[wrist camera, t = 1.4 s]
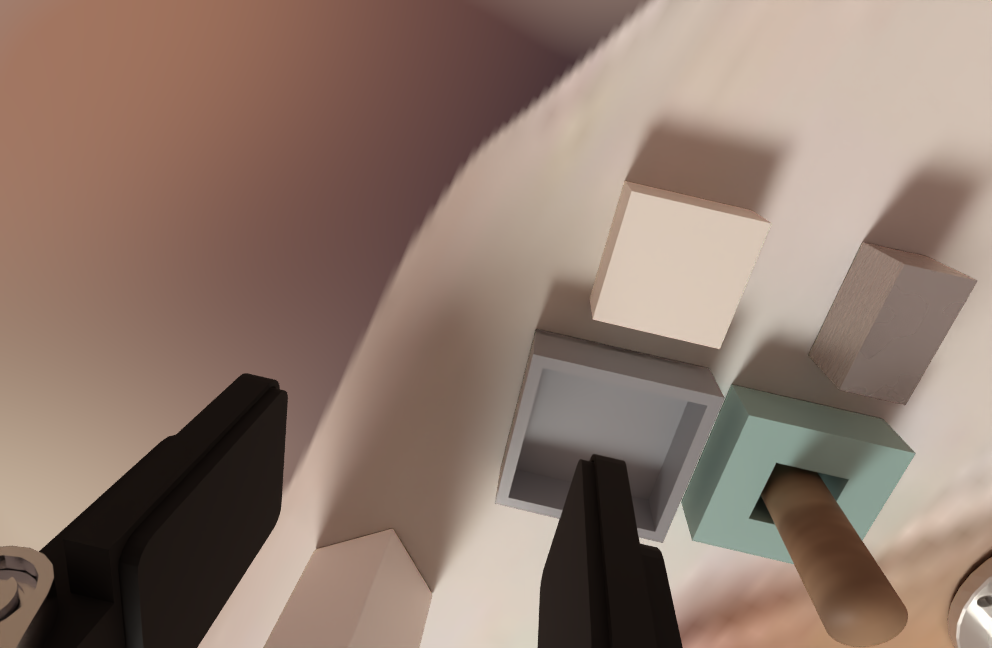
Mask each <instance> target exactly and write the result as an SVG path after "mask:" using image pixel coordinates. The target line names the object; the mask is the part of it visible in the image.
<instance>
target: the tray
mask: <svg viewBox="0 0 992 648" xmlns="http://www.w3.org/2000/svg"><path fill="white" fill-rule="evenodd" d="M723 400H724V396H723V394H722V392H721V390H720V388H719V386H718V384H717V382H716V380H715V378H714V377H713V375H712V373H711V371H710V369H709V368H705V367H701V366H696V365H692V364H688V363H683V362H679V361H674V360H670V359H666V358H661V357H657V356H652V355H648V354H644V353H639V352H635V351H631V350H626V349H622V348H617V347H613V346H609V345H604V344H600V343H595V342H591V341H587V340H582V339H578V338H574V337H569V336H565V335H560V334H556V333H552V332H547V331H543V330H539V329H536V330H535V334H534V338H533V342H532V346H531V350H530V354H529V358H528V362H527V366H526V370H525V374H524V378H523V382H522V386H521V390H520V393H519V397H518V401H517V405H516V409H515V413H514V417H513V421H512V425H511V429H510V433H509V437H508V441H507V445H506V449H505V453H504V457H503V461H502V465H501V469H500V475H499V481H498V487H497V494H496V500H495V504H498V505H503V506H507V507H511V508H516V509H520V510H524V511H528V512H533V513H537V514H541V515H546V516H550V517H554V518H558V519H560V517H561V513H562V510H563V507H564V504H565V501H566V498H567V495H568V492H569V488H570V485H571V482H572V479H573V476H574V473H575V470H576V467H577V464H578V462H579V460H580V459H582V460H587V461H589V460H590V458H591V456H592V455H593V454H598V455H602V456H606V457H611V458H615V459H619V460H624V461H625V463H626V466H627V472H628V478H629V484H630V489H631V495H632V501H633V507H634V513H635V519H636V525H637V531H638V537H640V538H644V539H648V540H653V541H657V542H661V543H663V541H664V539H665V537H666V534H667V532H668V530H669V527H670V525H671V522H672V520H673V518H674V515H675V513H676V511H677V508H678V506H679V504H680V501H681V499H682V497H683V494H684V492H685V490H686V487H687V485H688V483H689V480H690V478H691V475H692V473H693V471H694V468H695V466H696V464H697V461H698V459H699V457H700V454H701V452H702V450H703V447H704V445H705V443H706V440H707V438H708V436H709V433H710V431H711V428H712V426H713V424H714V421H715V419H716V417H717V414H718V412H719V410H720V407H721V405H722V403H723Z"/></svg>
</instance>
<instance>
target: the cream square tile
mask: <svg viewBox="0 0 992 648" xmlns="http://www.w3.org/2000/svg"><path fill="white" fill-rule="evenodd" d="M771 224H772V223H770V222H769V221H767V220H766V219H764V218H763V217H761V216H760V215H758V214H757V213H755V212H754V211H752V210H749V209H744V208H740V207H736V206H732V205H727V204H723V203H719V202H714V201H710V200H706V199H701V198H697V197H693V196H688V195H684V194H680V193H675V192H671V191H667V190H662V189H658V188H654V187H650V186H645V185H641V184H637V183H632V182H628V181H624V185H623V188H622V191H621V195H620V198H619V202H618V205H617V208H616V212H615V215H614V218H613V222H612V225H611V228H610V232H609V235H608V238H607V242H606V245H605V249H604V252H603V255H602V259H601V262H600V265H599V269H598V272H597V275H596V279H595V282H594V286H593V289H592V292H591V296H590V305H591V312H592V319H593V320H597V321H601V322H605V323H610V324H614V325H618V326H622V327H627V328H631V329H635V330H640V331H644V332H648V333H652V334H657V335H661V336H665V337H670V338H674V339H678V340H682V341H687V342H691V343H695V344H700V345H704V346H708V347H712V348H717V349H720V348H721V345H722V343H723V340H724V338H725V335H726V333H727V331H728V328H729V326H730V323H731V321H732V319H733V316H734V314H735V311H736V309H737V306H738V304H739V302H740V299H741V297H742V294H743V292H744V290H745V287H746V285H747V282H748V280H749V277H750V275H751V273H752V270H753V268H754V265H755V263H756V261H757V258H758V256H759V253H760V251H761V248H762V246H763V244H764V241H765V239H766V236H767V234H768V232H769V229H770V227H771Z"/></svg>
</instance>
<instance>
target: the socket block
mask: <svg viewBox="0 0 992 648" xmlns="http://www.w3.org/2000/svg"><path fill="white" fill-rule="evenodd" d="M915 454H916V453H915V452H914V451H913V450H912V449H911V448H910V447H909V446H908V445H907V444H906V443H905V442H904V441H903V440H902V438H901V437H900V436H899V435H898V434H897V433H896V432H895V431H894V430H893V429H892V428H891V427H890V426H889V425H888V424H887V423H886V422H885V421H884V420H883V419H881V418H876V417H872V416H868V415H863V414H859V413H855V412H850V411H846V410H841V409H837V408H833V407H828V406H824V405H820V404H815V403H811V402H806V401H802V400H798V399H793V398H789V397H785V396H780V395H776V394H771V393H767V392H763V391H758V390H754V389H750V388H745V387H741V386H736V385H731V387H730V390H729V392H728V394H727V397H726V399H725V401H724V404H723V406H722V408H721V411H720V413H719V415H718V418H717V420H716V422H715V425H714V427H713V429H712V432H711V434H710V436H709V439H708V441H707V443H706V446H705V448H704V450H703V453H702V455H701V458H700V460H699V462H698V465H697V467H696V469H695V472H694V474H693V476H692V479H691V481H690V483H689V486H688V488H687V490H686V493H685V495H684V497H683V500H682V502H681V503H682V506H683V510H684V513H685V517H686V520H687V524H688V527H689V531H690V534H691V538H692V541H696V542H701V543H705V544H709V545H714V546H718V547H722V548H726V549H731V550H735V551H739V552H744V553H748V554H752V555H756V556H761V557H765V558H769V559H774V560H778V561H782V562H786V563H791V564H794V563H793V561H792V559H791V557H790V555H789V553H788V550H787V548H786V546H785V544H784V542H783V540H782V538H781V536H780V534H779V532H778V530H777V528H776V526H775V523H774V521H773V519H772V517H771V515H770V513H769V511H768V509H767V507H766V505H765V503H764V501H763V499H762V497H761V493H762V491H763V489H764V487H765V485H766V483H767V481H768V479H769V477H770V474H771V472H772V470H773V468H774V466H775V464H776V463H780V464H784V465H788V466H793V467H797V468H801V469H806V470H810V471H814V472H817V473H818V474H819V476H820V477H821V479H822V480H823V482H824V483H825V485H826V486H827V488H828V489H829V491H830V492H831V494H832V495H833V497H834V499H835V500H836V502H837V503H838V505H839V506H840V508H841V509H842V511H843V512H844V514H845V515H846V517H847V518H848V520H849V521H850V523H851V524H852V526H853V528H854V529H855V531H856V532H857V534H858V535H859V537H860V538H861V540H863V539H864V537H865V535H866V534H867V532H868V530H869V529H870V527H871V526H872V524H873V522H874V521H875V519H876V517H877V516H878V514H879V512H880V511H881V509H882V508H883V506H884V504H885V503H886V501H887V499H888V498H889V496H890V495H891V493H892V491H893V490H894V488H895V486H896V485H897V483H898V482H899V480H900V478H901V477H902V475H903V473H904V472H905V470H906V469H907V467H908V465H909V464H910V462H911V460H912V459H913V457H914V455H915Z"/></svg>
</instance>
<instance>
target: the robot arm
mask: <svg viewBox="0 0 992 648" xmlns="http://www.w3.org/2000/svg"><path fill="white" fill-rule="evenodd" d="M287 400H288V395H287V392H286V391H284V390H280V389H279V383H278V381H276V380H273V379H269V378H264V377H260V376H256V375H252V374H242V375H241V376H240V377H238V378H237V379H236V380H235V381H234V382H233V383H232V384H231V385H230V386H229V387H227V388H226V389H225V390H224V391H223V392H222V393H221V394H220V395H219V396H218V397H217V398H216V399H214V400H213V401H212V402H211V403H210V404H209V405H208V406H207V407H206V408H205V409H203V410H202V411H201V412H200V413H199V414H198V415H197V416H196V417H195V418H194V419H193V420H192V421H190V422H189V423H188V424H187V425H186V426H185V427H184V428H183V429H182V430H181V431H180V432H179V433H177V434H176V435H173V436H169V437H167V438H166V439H164V440H163V441H161V442H160V443H159V444H158V445H157V446H156V447H154V448H153V449H152V450H151V451H150V452H149V453H148V454H147V455H146V456H145V457H143V458H142V459H141V460H140V461H139V462H138V463H137V464H136V465H135V466H133V467H132V468H131V469H130V470H129V471H128V472H127V473H126V474H125V475H124V476H122V477H121V478H120V479H119V480H118V481H117V482H116V483H115V484H114V485H112V486H111V487H110V488H109V489H108V490H107V491H106V492H105V493H103V494H102V495H101V496H100V497H99V498H98V499H97V500H96V501H95V502H94V503H92V504H91V505H90V506H89V507H88V508H87V509H86V510H85V511H84V512H82V513H81V514H80V515H79V516H78V517H77V518H76V519H75V520H74V521H72V522H71V523H70V524H69V525H68V526H67V527H66V528H65V529H64V530H62V531H61V532H60V533H59V534H58V535H57V536H56V537H55V538H54V539H52V540H51V541H50V542H49V543H48V544H47V545H46V546H45V547H44V548H42V549H41V550H40V551H39V552H38V551H36V550H34V549H31V548H26V547H17V546H3V547H0V648H197V647H198V646H199V644H200V642H201V641H202V639H203V638H204V636H205V635H206V633H207V632H208V630H209V628H210V627H211V625H212V624H213V622H214V621H215V619H216V618H217V616H218V614H219V613H220V611H221V610H222V608H223V607H224V605H225V604H226V602H227V600H228V599H229V597H230V596H231V594H232V593H233V591H234V590H235V588H236V586H237V585H238V583H239V582H240V580H241V579H242V577H243V575H244V574H245V572H246V571H247V569H248V568H249V566H250V565H251V563H252V561H253V560H254V558H255V557H256V555H257V554H258V552H259V551H260V549H261V547H262V546H263V544H264V543H265V541H266V540H267V538H268V537H269V535H270V533H271V532H272V530H273V529H274V527H275V525H276V523H277V521H278V518H279V515H280V511H281V502H282V484H283V469H284V468H283V467H284V452H285V435H286V419H287V417H286V416H287V402H288V401H287ZM948 632H949V635H950V638H951V641H952V643H953V646H954V647H955V648H992V557H991V558H989V559H988V560H986V561H985V562H984V563H983V564H982V565H980V566H979V567H978V568H977V569H976V570H975V571H973V572H972V573H971V574H970V575H969V577H968V578H967V579H966V580H965V582H964V583H963V584H962V585H961V586H960V588H959V589H958V591H957V593H956V595H955V597H954V599H953V601H952V603H951V606H950V610H949V615H948ZM538 648H683V647H682V643H681V638H680V633H679V629H678V624H677V619H676V615H675V610H674V605H673V601H672V596H671V591H670V587H669V582H668V577H667V573H666V568H665V563H664V559H663V556H662V553H661V551H660V550H659V549H658V548H657V547H652V546H648V545H644V544H640V542H639V537H638V531H637V525H636V519H635V513H634V507H633V501H632V495H631V489H630V484H629V478H628V472H627V466H626V463H625V461H624V460H619V459H615V458H611V457H606V456H602V455H598V454H593V455H592V456H591V458H590V460H589V461H587V460H582V459H580V460H579V462H578V464H577V467H576V470H575V473H574V476H573V479H572V482H571V485H570V488H569V492H568V495H567V498H566V501H565V504H564V507H563V510H562V513H561V517H560V520H559V523H558V526H557V529H556V532H555V535H554V538H553V542H552V545H551V548H550V551H549V554H548V557H547V560H546V563H545V567H544V570H543V574H542V579H541V586H540V604H539V629H538Z"/></svg>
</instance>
